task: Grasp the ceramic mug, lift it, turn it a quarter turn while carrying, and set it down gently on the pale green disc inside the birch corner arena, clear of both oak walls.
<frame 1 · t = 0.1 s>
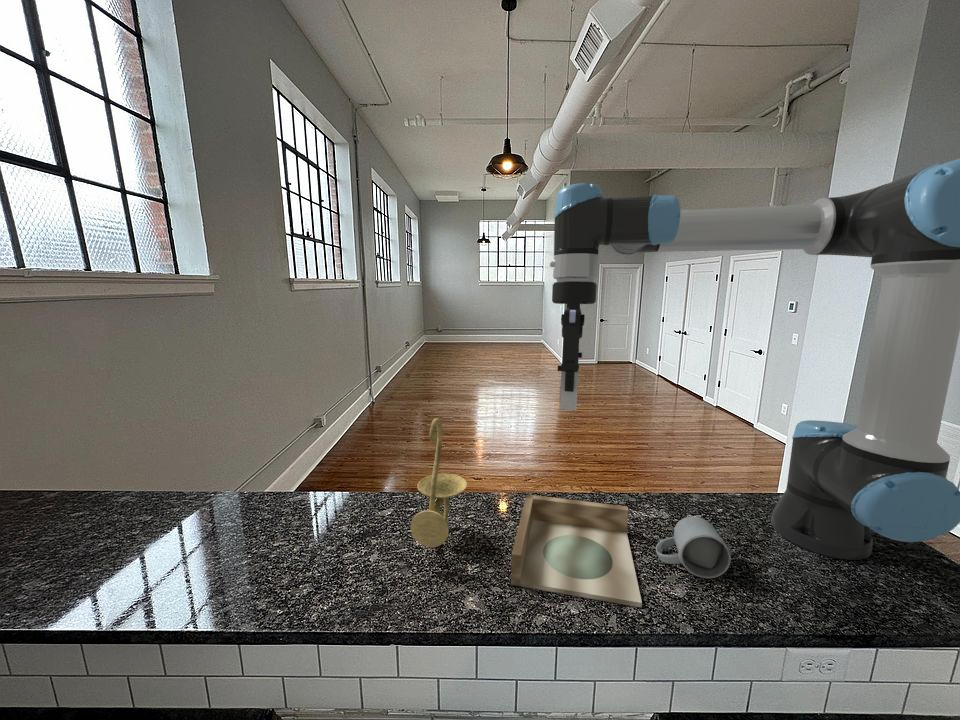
hand: (569, 399, 72), 28 cm above the countertop, fingers open, 13 cm apart
wall sconce: (439, 542, 76), on the countertop
arena: (574, 555, 72), on the countertop
ceramic mug: (689, 564, 70), on the countertop
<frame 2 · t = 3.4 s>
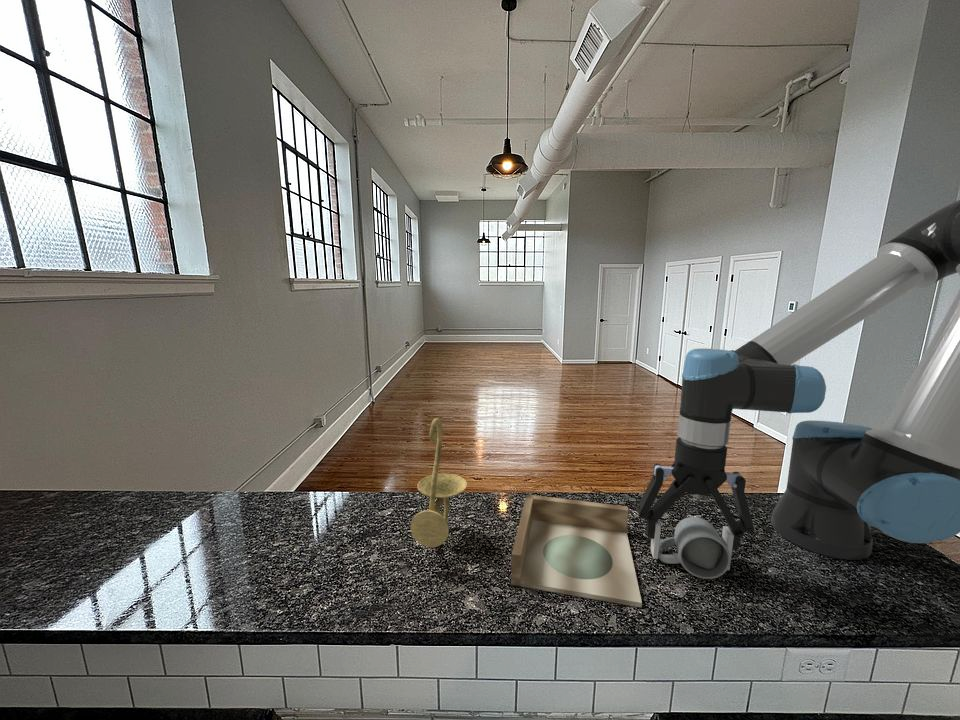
hand: (688, 559, 70), 1 cm above the countertop, fingers closed on ceramic mug, 11 cm apart
ceramic mug: (689, 564, 70), on the countertop, touching gripper
everything else where it was.
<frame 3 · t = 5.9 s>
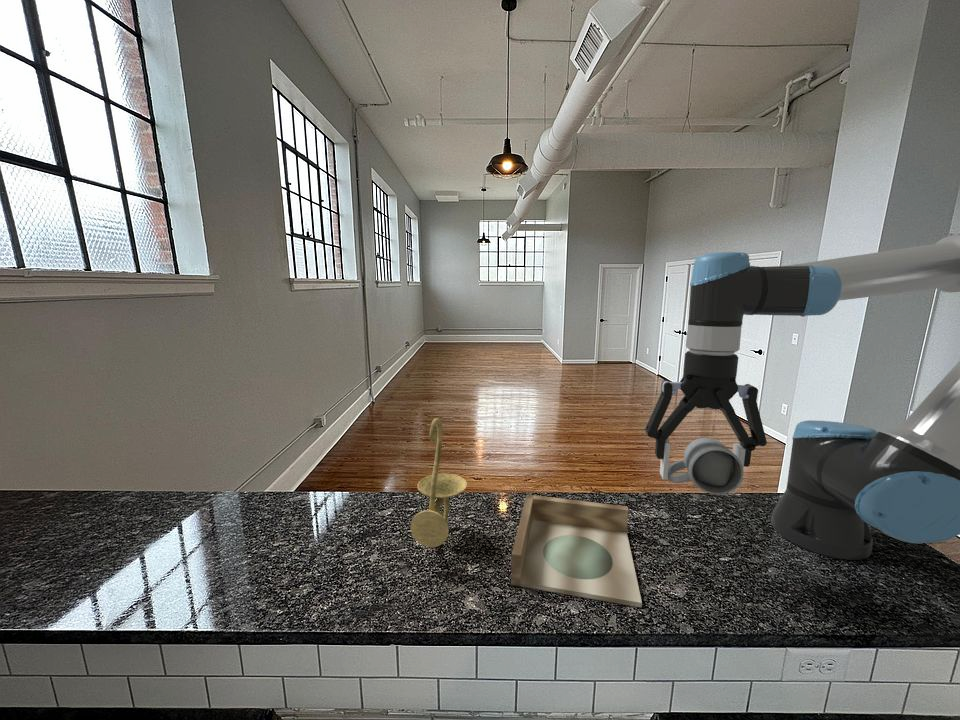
hand: (698, 479, 67), 16 cm above the countertop, fingers closed on ceramic mug, 10 cm apart
ceramic mug: (700, 484, 67), point 15 cm above the countertop, touching gripper
everything else where it was.
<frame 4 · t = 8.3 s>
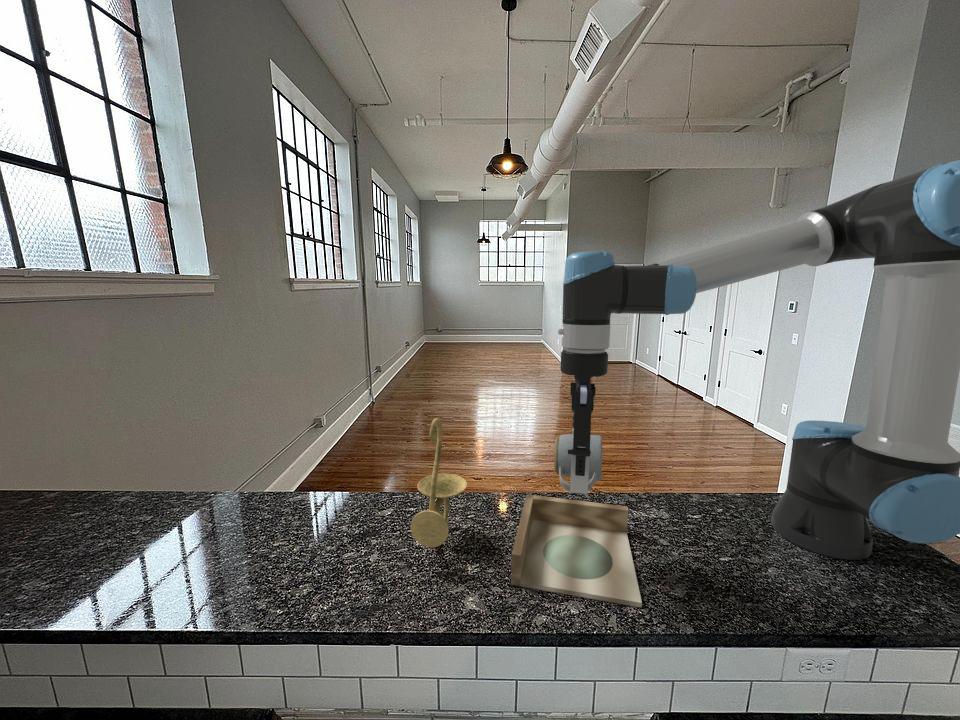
hand: (578, 476, 68), 16 cm above the countertop, fingers closed on ceramic mug, 10 cm apart
ceramic mug: (579, 480, 69), point 15 cm above the countertop, touching gripper
everything else where it was.
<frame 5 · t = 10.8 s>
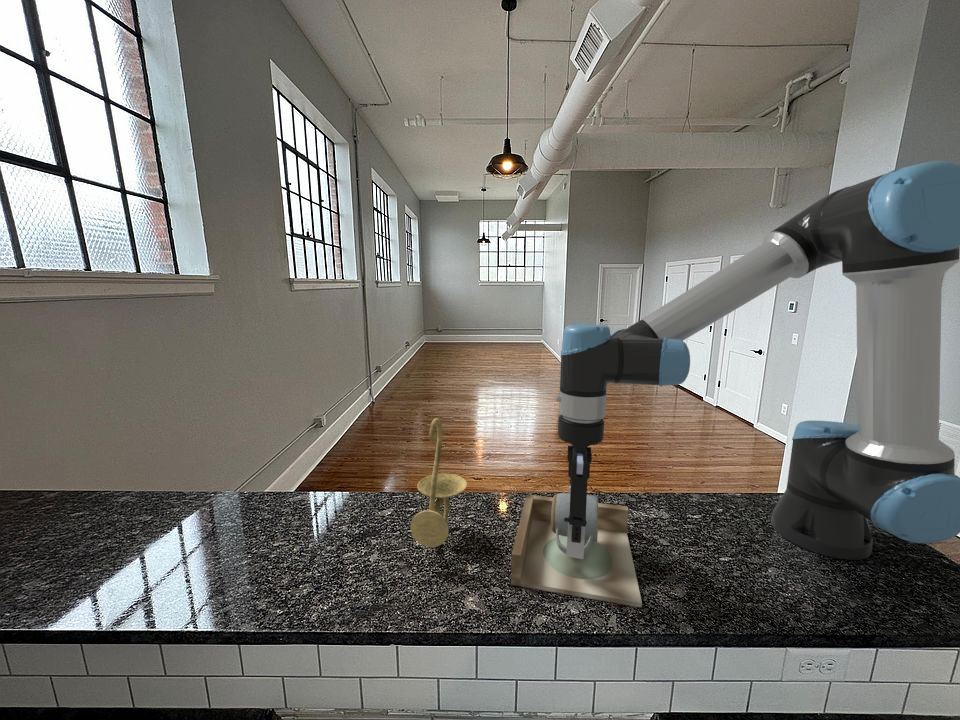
hand: (574, 536, 70), 4 cm above the countertop, fingers closed on ceramic mug, 10 cm apart
ceramic mug: (575, 540, 70), point 4 cm above the countertop, touching gripper
everything else where it was.
when the fingers open (2 cm above the countertop, at t = 13.0 s): ceramic mug stays where it is, resting on arena.
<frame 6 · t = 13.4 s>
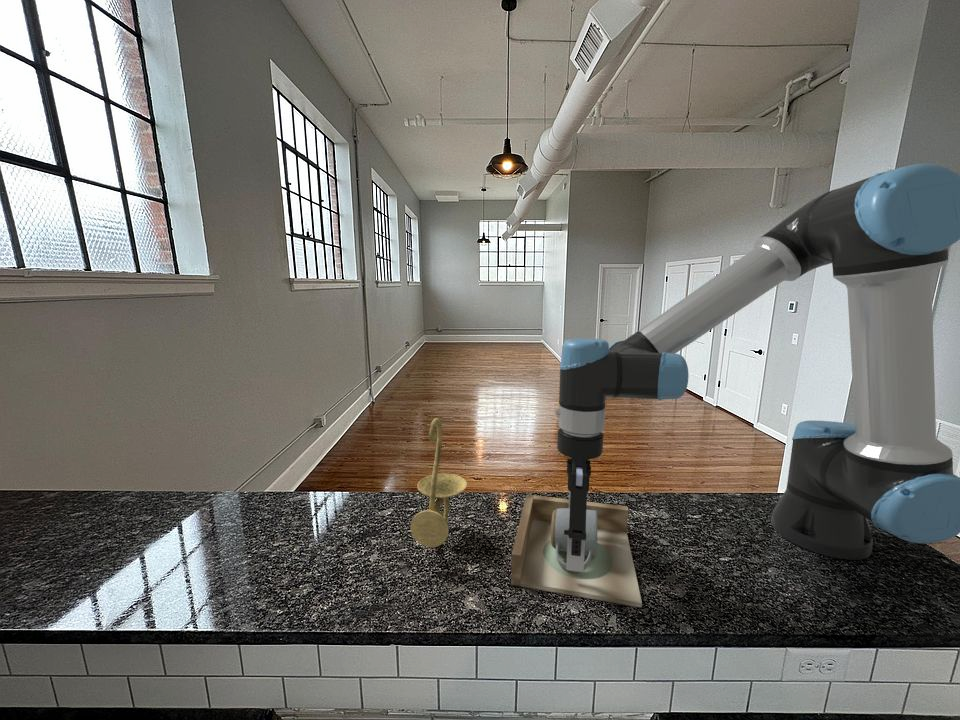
hand: (574, 544, 70), 3 cm above the countertop, fingers open, 13 cm apart
ceramic mug: (575, 555, 71), point 1 cm above the countertop, touching arena
everything else where it was.
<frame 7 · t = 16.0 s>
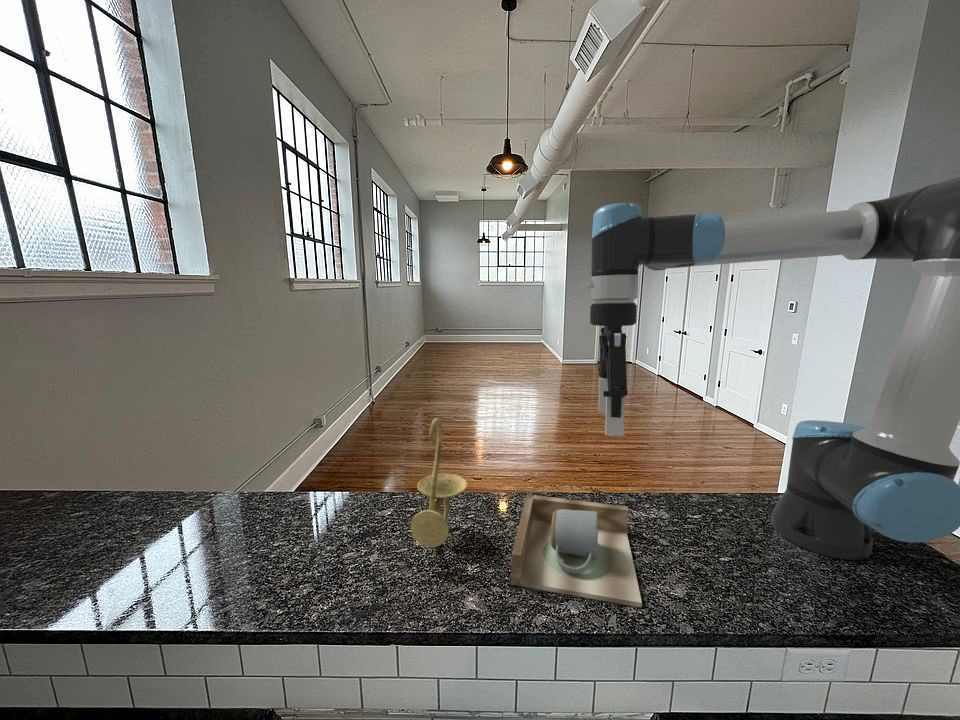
hand: (609, 422, 70), 24 cm above the countertop, fingers open, 13 cm apart
nothing on the countertop moved.
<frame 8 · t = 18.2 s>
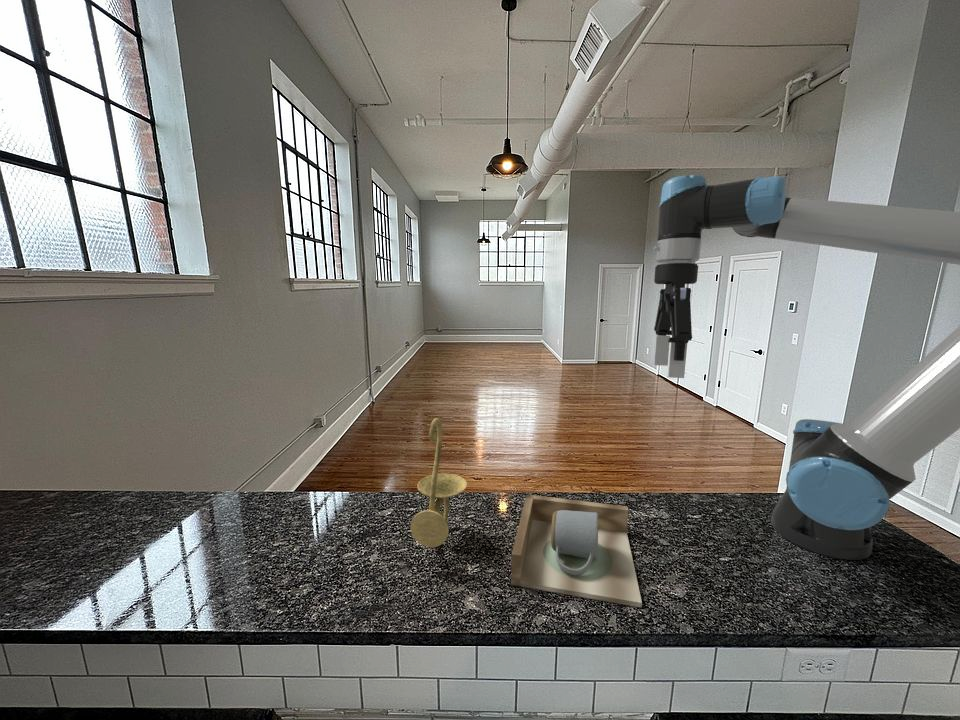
hand: (667, 371, 80), 32 cm above the countertop, fingers open, 13 cm apart
nothing on the countertop moved.
at the end: ceramic mug inside the target area on the arena (2.9 cm from its centre), point 0.6 cm above the arena's base; ceramic mug point 0.6 cm above the countertop; the gripper is holding nothing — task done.
